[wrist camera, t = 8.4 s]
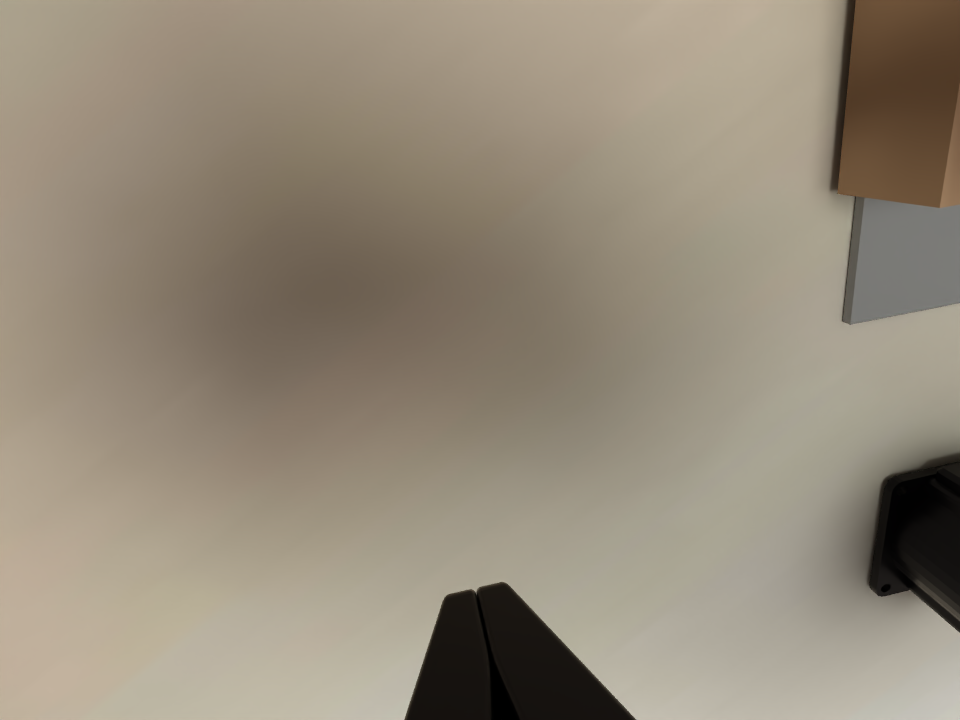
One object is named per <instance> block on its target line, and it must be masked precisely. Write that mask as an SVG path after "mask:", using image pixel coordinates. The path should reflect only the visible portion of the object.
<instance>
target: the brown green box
mask: <svg viewBox="0 0 960 720" xmlns="http://www.w3.org/2000/svg"><path fill="white" fill-rule="evenodd" d="M837 194H843V195H850V196H857V197H864V198H871V199H879V200H886V201H893V202H900V203H907V204H914V205H921V206H928V207H936V208H943V207H948V206H954V205H960V0H856V4H855V14H854V25H853V35H852V46H851V56H850V67H849V77H848V88H847V98H846V109H845V119H844V130H843V140H842V151H841V161H840V172H839V183H838V193H837Z"/></svg>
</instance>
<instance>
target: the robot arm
mask: <svg viewBox="0 0 960 720" xmlns="http://www.w3.org/2000/svg"><path fill="white" fill-rule="evenodd" d="M870 588H871V589H872V590H873V591H874V592H875V593H876V594H877V595H878V596H887V595H891V594H895V593H899V592H904V591H908V590H911V591H912V592H913V593H914V594H916V595H917V596H918V597H919V598H920V599H921V600H922V601H924V602H925V603H926V604H927V605H928V606H929V607H931V608H932V609H933V610H934V611H935V612H936V613H938V614H939V615H940V616H941V617H942V618H943V619H945V620H946V621H947V622H948V623H949V624H950V625H951V626H953V627H954V628H955V629H956V630H957V631H958V632H960V462H957V463H952V464H948V465H944V466H939V467H935V468H930V469H926V470H921V471H917V472H913V473H908V474H904V475H899V476H895V477H893V478H891V479H890V480H889V481H888V482H887V483H886V485H885V488H884V494H883V501H882V507H881V514H880V520H879V527H878V533H877V540H876V546H875V553H874V559H873V566H872V572H871V579H870ZM404 720H636V719H635V718H634V717H633V716H632V715H631V714H630V713H629V712H628V711H627V710H626V708H625V707H624V706H623V705H622V704H621V703H620V702H619V701H618V700H617V699H616V698H615V697H614V696H613V695H612V694H611V693H610V692H609V690H608V689H607V688H606V687H605V686H604V685H603V684H602V683H601V682H600V681H599V680H598V679H597V678H596V677H595V676H594V675H593V674H592V673H591V671H590V670H589V669H588V668H587V667H586V666H585V665H584V664H583V663H582V662H581V661H580V660H579V659H578V658H577V657H576V656H575V655H574V653H573V652H572V651H571V650H570V649H569V648H568V647H567V646H566V645H565V644H564V643H563V642H562V641H561V640H560V639H559V638H558V637H557V636H556V634H555V633H554V632H553V631H552V630H551V629H550V628H549V627H548V626H547V625H546V624H545V623H544V622H543V621H542V620H541V619H540V618H539V616H538V615H537V614H536V613H535V612H534V611H533V610H532V609H531V608H530V607H529V606H528V605H527V604H526V603H525V602H524V601H523V600H522V599H521V597H520V596H519V595H518V594H517V593H516V592H515V591H514V590H513V589H512V588H511V587H510V586H509V585H508V584H507V583H504V582H500V583H496V584H491V585H487V586H482V587H479V588H478V589H477V595H476V592H475V591H474V590H472V589H470V590H465V591H461V592H456V593H452V594H448V595H447V596H446V597H445V598H444V600H443V602H442V605H441V609H440V612H439V615H438V618H437V621H436V624H435V627H434V630H433V633H432V636H431V639H430V642H429V646H428V649H427V652H426V655H425V658H424V661H423V664H422V667H421V670H420V673H419V676H418V679H417V682H416V686H415V689H414V692H413V695H412V698H411V701H410V704H409V707H408V710H407V713H406V716H405V719H404Z"/></svg>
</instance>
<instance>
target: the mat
mask: <svg viewBox="0 0 960 720" xmlns="http://www.w3.org/2000/svg"><path fill="white" fill-rule="evenodd" d="M958 303H960V205H954V206H948V207H943V208H936V207H928V206H921V205H914V204H907V203H900V202H893V201H886V200H879V199H871V198H864V197H857V196H856V202H855V211H854V220H853V230H852V239H851V248H850V258H849V267H848V276H847V286H846V295H845V304H844V314H843V322H845V323H848V324H850V325H851V324H856V323H861V322H866V321H871V320H876V319H881V318H886V317H891V316H897V315H902V314H907V313H912V312H917V311H922V310H927V309H932V308H937V307H942V306H948V305H953V304H958Z"/></svg>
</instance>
